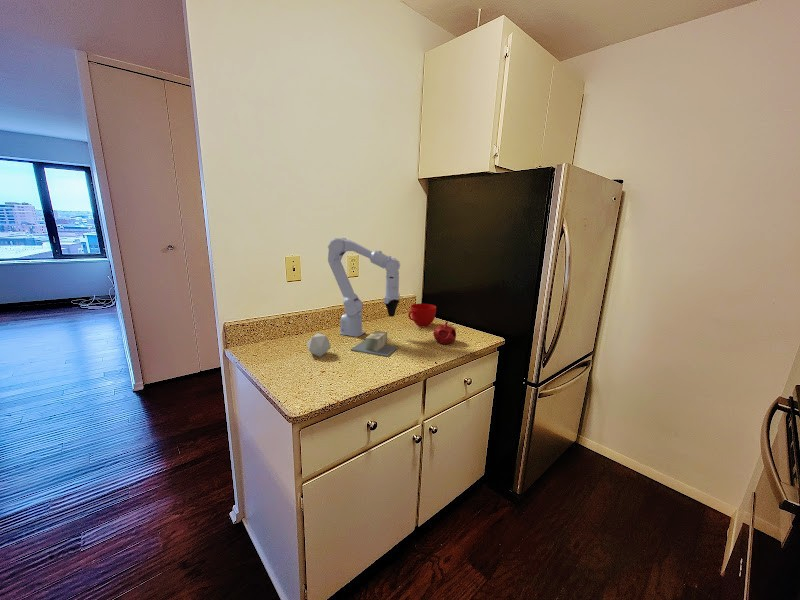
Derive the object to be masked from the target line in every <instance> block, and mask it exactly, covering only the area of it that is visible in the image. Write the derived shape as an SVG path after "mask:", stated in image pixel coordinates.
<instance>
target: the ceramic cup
mask: <svg viewBox="0 0 800 600" xmlns="http://www.w3.org/2000/svg"><path fill="white" fill-rule="evenodd" d="M436 314H437V306H436V305H434V304H430V303H413V304H411V305H410V311H409V312H408V314H407V316H408V317H407V318H409V320H411V321H413V322H414V324H415V325H416V327H421V328H427V327H429V326H430V325H432V323H433V322H434V320H435V318H436Z"/></svg>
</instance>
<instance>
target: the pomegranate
mask: <svg viewBox="0 0 800 600" xmlns="http://www.w3.org/2000/svg"><path fill="white" fill-rule="evenodd" d="M448 323H449V321H445V323H444V324H442V323H439V324H437V325H438V326H437V327H436V328H435V329H434V330H433V333H432V334H433V338H434V340H435V341H436V342H437V343H439V344H442V345H449V344H453V343H454V342H455V341H456V339H457V331H456V329H455V328H454V327H451V326H453V324H449V325H448Z"/></svg>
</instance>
